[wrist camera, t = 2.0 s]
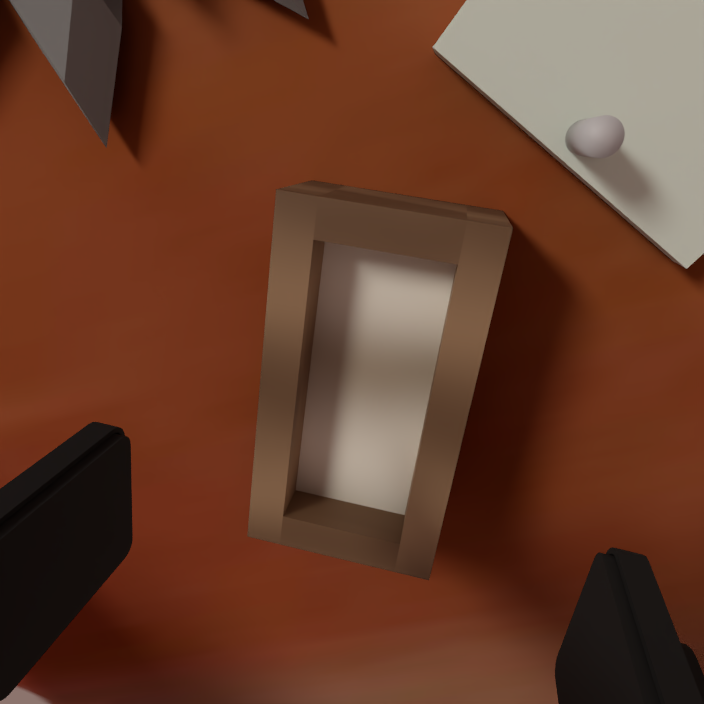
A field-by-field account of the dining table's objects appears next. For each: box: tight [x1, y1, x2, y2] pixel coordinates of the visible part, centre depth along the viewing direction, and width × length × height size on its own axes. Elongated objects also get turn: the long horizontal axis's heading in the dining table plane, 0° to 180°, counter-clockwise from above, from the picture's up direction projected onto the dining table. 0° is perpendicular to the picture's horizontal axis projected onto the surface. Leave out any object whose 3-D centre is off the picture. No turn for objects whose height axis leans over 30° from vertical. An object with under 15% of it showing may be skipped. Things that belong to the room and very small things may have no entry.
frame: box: [248, 181, 513, 580], centre depth 19 cm, size 12×6×4 cm, turn 172°
